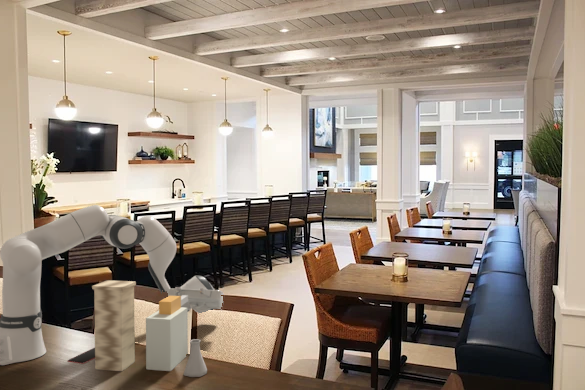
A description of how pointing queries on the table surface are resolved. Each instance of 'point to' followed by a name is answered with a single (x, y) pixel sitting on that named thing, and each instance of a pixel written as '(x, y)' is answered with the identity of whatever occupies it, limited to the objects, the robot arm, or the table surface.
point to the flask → (195, 361)
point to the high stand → (114, 325)
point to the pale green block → (166, 339)
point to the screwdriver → (172, 304)
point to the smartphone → (84, 357)
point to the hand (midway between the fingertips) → (189, 289)
